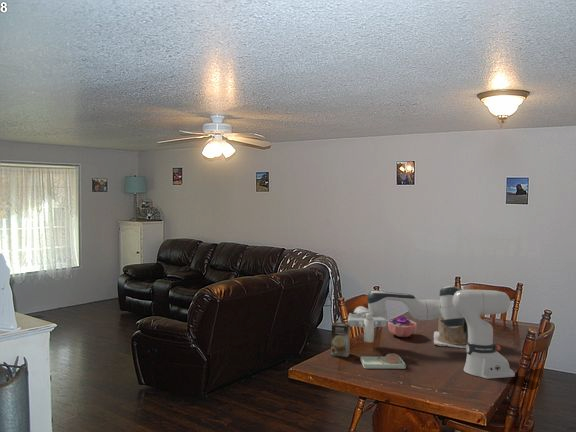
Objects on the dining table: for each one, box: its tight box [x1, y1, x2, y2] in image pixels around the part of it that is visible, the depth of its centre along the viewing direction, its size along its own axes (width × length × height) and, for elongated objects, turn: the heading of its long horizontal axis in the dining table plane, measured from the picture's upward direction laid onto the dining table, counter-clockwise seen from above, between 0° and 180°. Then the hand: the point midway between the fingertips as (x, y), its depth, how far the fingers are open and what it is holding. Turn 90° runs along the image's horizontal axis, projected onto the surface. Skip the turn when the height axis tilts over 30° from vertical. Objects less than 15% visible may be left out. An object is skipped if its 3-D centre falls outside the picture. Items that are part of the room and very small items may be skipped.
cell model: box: [387, 315, 418, 338], centre depth 302 cm, size 17×20×11 cm
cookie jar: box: [433, 285, 468, 349], centre depth 290 cm, size 25×25×32 cm
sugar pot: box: [385, 353, 400, 364], centre depth 251 cm, size 6×6×6 cm
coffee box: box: [330, 321, 351, 358], centre depth 266 cm, size 9×6×16 cm
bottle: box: [363, 313, 375, 343], centre depth 260 cm, size 5×5×14 cm
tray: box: [359, 355, 407, 370], centre depth 251 cm, size 20×12×2 cm, turn 91°
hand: (369, 325), depth 259 cm, fingers closed on bottle, 5 cm apart
